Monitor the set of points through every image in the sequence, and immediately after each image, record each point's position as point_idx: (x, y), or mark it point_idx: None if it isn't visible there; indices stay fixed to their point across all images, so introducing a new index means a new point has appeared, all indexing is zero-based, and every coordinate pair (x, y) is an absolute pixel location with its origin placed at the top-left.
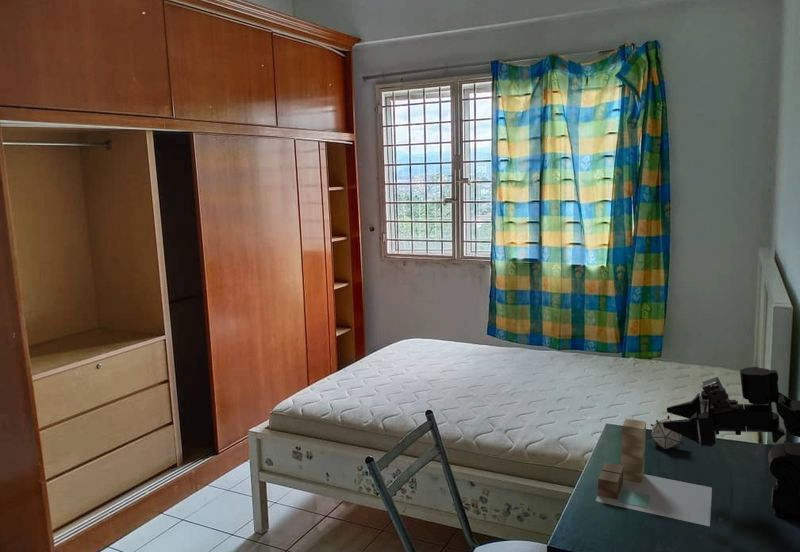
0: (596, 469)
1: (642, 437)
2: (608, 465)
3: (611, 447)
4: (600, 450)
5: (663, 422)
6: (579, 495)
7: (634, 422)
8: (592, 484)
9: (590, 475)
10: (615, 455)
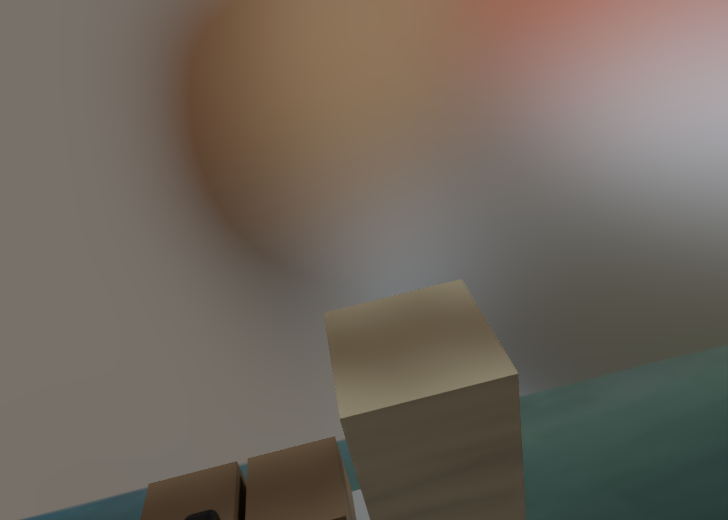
0: None
1: (354, 466)
2: (308, 460)
3: (707, 385)
4: (630, 371)
5: (191, 515)
6: None
7: (431, 331)
8: None
9: None
10: (650, 428)
